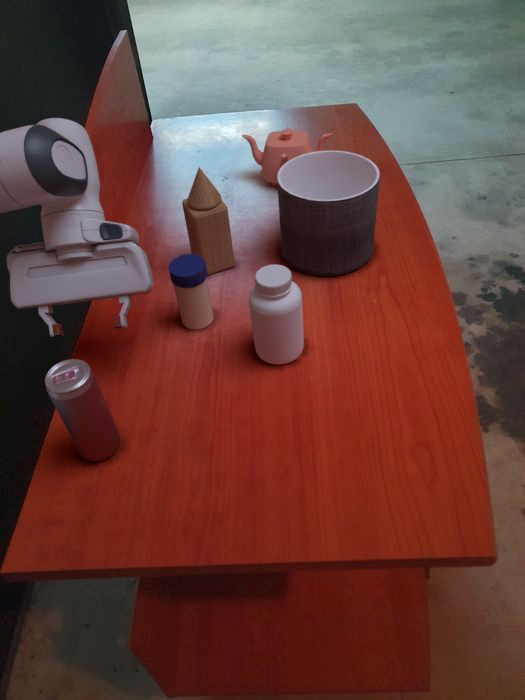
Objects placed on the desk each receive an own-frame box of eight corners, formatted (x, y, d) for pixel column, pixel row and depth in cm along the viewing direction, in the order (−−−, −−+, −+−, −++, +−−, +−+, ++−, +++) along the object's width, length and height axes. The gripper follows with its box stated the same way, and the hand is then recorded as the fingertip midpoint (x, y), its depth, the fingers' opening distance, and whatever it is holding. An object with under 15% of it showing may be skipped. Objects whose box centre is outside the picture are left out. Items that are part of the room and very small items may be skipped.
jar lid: (172, 291, 90) (170, 279, 88) (169, 269, 94) (166, 257, 93) (209, 284, 91) (207, 272, 89) (204, 262, 95) (202, 251, 93)
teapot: (333, 177, 130) (334, 130, 122) (285, 201, 124) (283, 153, 116) (291, 156, 138) (289, 111, 130) (244, 178, 132) (240, 132, 125)
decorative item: (236, 267, 108) (223, 169, 94) (203, 277, 107) (186, 180, 93) (223, 249, 113) (209, 154, 99) (192, 259, 111) (173, 163, 97)
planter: (287, 222, 118) (283, 150, 107) (374, 224, 115) (380, 150, 104) (275, 275, 106) (270, 200, 95) (372, 279, 103) (379, 202, 92)
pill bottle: (248, 338, 94) (239, 265, 84) (294, 326, 96) (291, 253, 85) (263, 371, 89) (255, 298, 78) (311, 358, 90) (310, 284, 80)
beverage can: (76, 436, 83) (40, 366, 72) (117, 423, 84) (87, 352, 73) (82, 469, 79) (45, 399, 68) (125, 454, 80) (95, 384, 69)
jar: (183, 332, 97) (171, 281, 89) (180, 311, 101) (168, 260, 93) (216, 326, 97) (207, 274, 89) (211, 305, 101) (202, 254, 93)
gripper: (-6, 243, 80) (9, 341, 80) (140, 224, 80) (154, 322, 80) (14, 250, 86) (27, 341, 86) (148, 232, 86) (161, 323, 87)
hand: (89, 332), depth 83 cm, fingers open, 8 cm apart
